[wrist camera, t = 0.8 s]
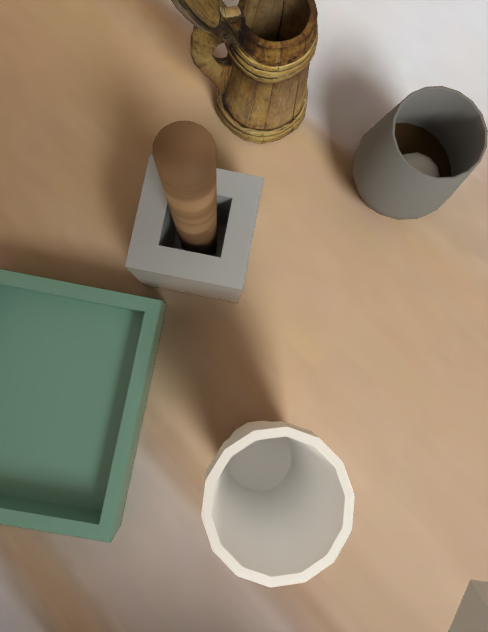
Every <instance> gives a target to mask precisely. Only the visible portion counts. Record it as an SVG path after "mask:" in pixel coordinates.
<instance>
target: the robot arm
mask: <svg viewBox="0 0 488 632" xmlns="http://www.w3.org/2000/svg"><path fill="white" fill-rule="evenodd" d="M448 632H488V582H483V581H477V580H470V582H469V584H468V587H467V589H466V591H465V594H464V596H463V598H462V601H461V603H460V605H459V608H458V610H457V613H456V615H455V617H454V620H453V622H452V624H451V627H450V629H449V631H448Z"/></svg>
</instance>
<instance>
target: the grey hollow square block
mask: <svg viewBox="0 0 488 632" xmlns="http://www.w3.org/2000/svg"><path fill="white" fill-rule="evenodd" d="M216 175H217V249H216V252H215V254H214V256H210V255H205V254H200V253H195V252H190V251H185V250H183V248H182V245H181V242H180V239H179V236H178V233H177V230H176V226H175V223H174V220H173V217H172V214H171V211H170V208H169V205H168V202H167V199H166V196H165V192H164V189H163V186H162V183H161V180H160V177H159V174H158V171H157V168H156V165H155V161H154V158H153V155H152V154H150V156H149V160H148V165H147V169H146V174H145V178H144V182H143V187H142V191H141V196H140V200H139V205H138V209H137V214H136V218H135V223H134V227H133V232H132V236H131V241H130V245H129V250H128V254H127V259H126V263H125V267H126V268H127V269H128V270H129V271H130V272H131V273H132V274H133V275H134V276H135V277H136V278H137V279H138V280H139V281H140V282H141V283H142V284H143V285H147V286H153V287H158V288H163V289H168V290H173V291H178V292H183V293H189V294H194V295H199V296H204V297H209V298H214V299H219V300H225V301H230V302H235V303H238V301H239V298H240V296H241V293H242V290H243V285H244V280H245V275H246V270H247V264H248V259H249V254H250V249H251V243H252V238H253V233H254V228H255V222H256V217H257V212H258V207H259V201H260V196H261V191H262V185H263V180H264V178H262V177H258V176H253V175H248V174H243V173H238V172H234V171H229V170H224V169H219V168H216Z"/></svg>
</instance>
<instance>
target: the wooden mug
mask: <svg viewBox="0 0 488 632" xmlns="http://www.w3.org/2000/svg"><path fill="white" fill-rule="evenodd" d="M171 1H172V2H173V4H174V5H175V7H176V8H177V9H178V10H179V11H180V12H181V13H182V14H183V15H184V16H185V18H186V19H188V20H189V21H190V22H191V23H192V24H193V25H194V28H193V32H192V35H191V46H190V53H191V56H192V58H193V61H194V64H195V65H196V66H197V67H198V68H199V69H200V70H201V71H202V72H203V73H204V75H205V76H206V77H208V78H209V79H210V80H211V81H212V82H213V83H214V84H215V85H216V86H217V91H216V96H215V107H216V110H217V113H218V115H219V117H220V118H221V120H222V121H223V123H224V124H225V125H226V126H227V127H228V128H229V129H230V130H231V131H232V132H233V133H234V134H235V135H237V136H239V137H240V138H242V139H243V140H245V141H250V142H255V143H260V144H263V143H267V142H273V141H276V140H279V139H281V138H283V137H284V136H286V135H288V134H290V133H291V132H292V131H294V130H295V129H297V128H298V127H299V125H300V123H301V122H302V120H303V119H304V117H305V111H306V104H307V96H308V90H307V78H308V71H309V64H310V61H311V59H312V57H313V55H314V53H315V49H316V45H317V39H318V26H317V14H318V13H317V8H316V4H315V1H314V0H239V4H238V5H237V6H234V7H226V5H225V4H224V3H223V2H222V0H171ZM223 42H225V45H226V48H227V51H228V54H227V57H225V58H216V57H214V56H213V51H214V49H215V48H216V47H217V46H218V45H219V44H221V43H223Z"/></svg>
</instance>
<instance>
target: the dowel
mask: <svg viewBox="0 0 488 632" xmlns="http://www.w3.org/2000/svg"><path fill="white" fill-rule="evenodd" d="M153 158H154V161H155V165H156V168H157V171H158V174H159V177H160V180H161V183H162V186H163V189H164V192H165V196H166V199H167V202H168V205H169V208H170V211H171V214H172V217H173V220H174V223H175V226H176V230H177V233H178V236H179V239H180V242H181V245H182V248H183V250H185V251H190V252H195V253H200V254H205V255H210V256H214V254H215V252H216V249H217V175H216V145H215V141H214V139H213V137H212V136H211V134H210V133H209V132H208V131H207V130H206V129H205V128H204V127H203V126H201V125H199V124H197V123H194V122H190V121H178V122H174V123H171V124H169V125H167V126H166V127H164V128H163V129H162V130H161V131H160V132H159V133H158V135H157V136H156V138H155V140H154V143H153Z"/></svg>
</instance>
